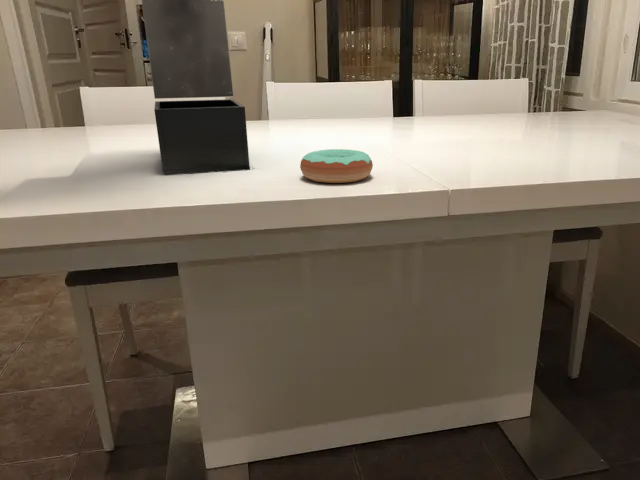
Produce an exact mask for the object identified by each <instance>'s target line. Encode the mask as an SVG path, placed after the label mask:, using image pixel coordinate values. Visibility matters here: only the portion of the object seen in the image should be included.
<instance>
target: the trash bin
mask: <svg viewBox="0 0 640 480" xmlns="http://www.w3.org/2000/svg"><path fill="white" fill-rule="evenodd" d="M153 108H154V118H155V124H156V134H157V137H158V138H157V139H158V146H159V154H160V161H161V168H162V175H163V176H173V175H188V174H189V175H190V174H202V173H204V174H205V173H217V172H233V171H234V172H235V171H248V170H251V168H250V166H251V165H250V155H249V154H250V153H249V144H248V142H249V141H248V131H247V117H246V115H247V114H246V107H245V105H243V104H241V103H240V102H239V101H237V100H235V99H234V98H229V99H228V98H227V99H225V98H224V99H190V100H189V99H188V100H155V101H154V107H153Z"/></svg>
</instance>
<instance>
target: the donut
mask: <svg viewBox="0 0 640 480" xmlns="http://www.w3.org/2000/svg"><path fill="white" fill-rule="evenodd" d="M373 166H374V164H373V160H372V159H371V157H370V156H369V154H368V153H366V152H364V151H360V150H355V149H346V148H345V149H343V148H342V149H341V148H339V149H337V148H336V149H335V148H333V149H332V148H331V149H320V150H314V151H310V152H308V153H307V154H305V155H304V156H303V157H302V159H301V160H300V164H299V168H300V171H301V173H302V175H303V176H304V177H305V178H307V179H308V180H310V181H313V182H317V183H325V184H345V183H347V184H348V183H353V182H359V181H362V180H364V179H366V178H367V177H369V176H370V174H371V172H372V170H373Z"/></svg>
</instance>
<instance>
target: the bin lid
mask: <svg viewBox="0 0 640 480" xmlns="http://www.w3.org/2000/svg"><path fill="white" fill-rule="evenodd" d="M141 6H142V13H143V21H144V28H145V29H144V30H145V36H146V43H147V51H148V58H149V66H150V73H151V81H152V89H153V96H154V99H155V100H168V99H170V100H171V99H172V100H173V99H210V98H212V99H213V98H233V97H234V89H233V79H232V68H231V59H230V49H229V40H228V30H227V20H226V19H227V18H226V10H225V1H224V0H141Z"/></svg>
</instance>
